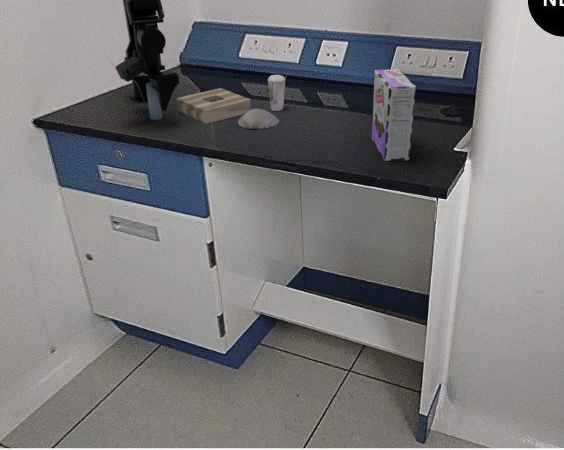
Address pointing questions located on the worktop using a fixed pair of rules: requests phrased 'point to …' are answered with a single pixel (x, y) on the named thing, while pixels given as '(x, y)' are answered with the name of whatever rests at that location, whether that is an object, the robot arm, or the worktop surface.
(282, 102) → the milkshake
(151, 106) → the dowel
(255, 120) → the seashell
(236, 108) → the socket block
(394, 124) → the candy box
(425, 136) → the worktop surface
